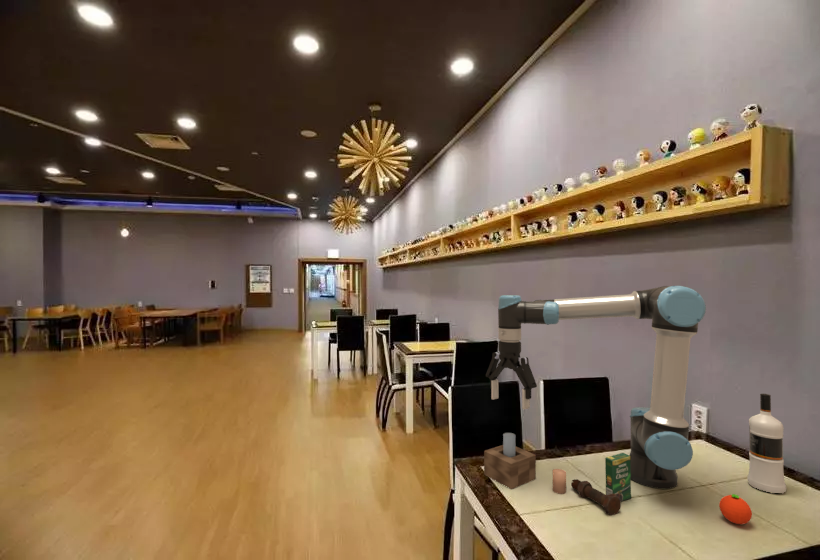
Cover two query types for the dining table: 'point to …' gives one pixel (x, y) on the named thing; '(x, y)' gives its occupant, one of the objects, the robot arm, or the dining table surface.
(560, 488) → the short dowel
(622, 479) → the coffee box
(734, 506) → the clementine
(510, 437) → the long dowel
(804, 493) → the dining table surface
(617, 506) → the bolt
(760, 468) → the vodka
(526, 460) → the hole block
